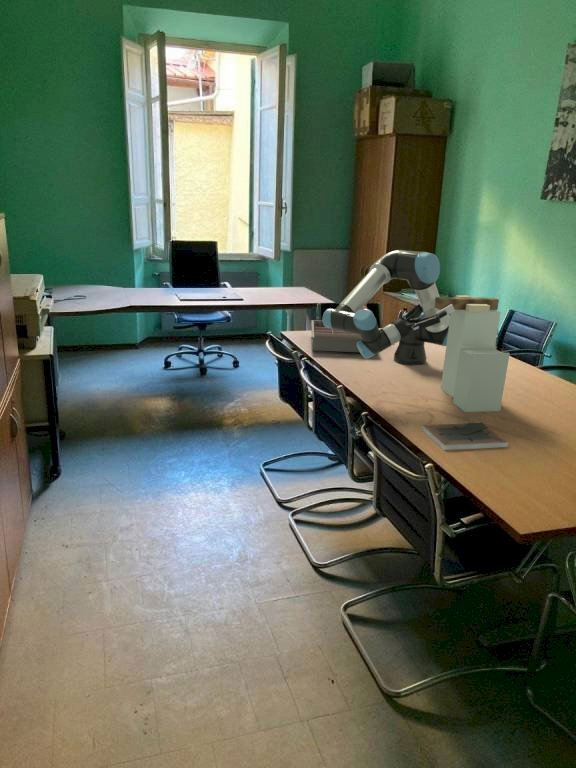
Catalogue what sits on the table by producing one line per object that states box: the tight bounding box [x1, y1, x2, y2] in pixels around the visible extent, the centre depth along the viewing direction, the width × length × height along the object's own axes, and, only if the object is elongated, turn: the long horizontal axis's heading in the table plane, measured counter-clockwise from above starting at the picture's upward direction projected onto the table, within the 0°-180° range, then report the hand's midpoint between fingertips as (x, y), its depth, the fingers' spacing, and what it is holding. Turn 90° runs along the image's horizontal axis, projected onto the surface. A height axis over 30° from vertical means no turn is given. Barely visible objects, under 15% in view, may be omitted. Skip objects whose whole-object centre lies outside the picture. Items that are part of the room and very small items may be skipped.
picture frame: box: [421, 421, 509, 451], centre depth 186 cm, size 16×2×22 cm
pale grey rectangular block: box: [452, 345, 511, 413], centre depth 211 cm, size 14×10×22 cm
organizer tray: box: [310, 319, 361, 353], centre depth 296 cm, size 32×40×10 cm
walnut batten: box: [434, 296, 500, 311], centre depth 218 cm, size 24×4×4 cm, turn 101°
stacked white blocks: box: [440, 294, 501, 398], centre depth 224 cm, size 14×13×38 cm
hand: (445, 303), depth 216 cm, fingers open, 13 cm apart
